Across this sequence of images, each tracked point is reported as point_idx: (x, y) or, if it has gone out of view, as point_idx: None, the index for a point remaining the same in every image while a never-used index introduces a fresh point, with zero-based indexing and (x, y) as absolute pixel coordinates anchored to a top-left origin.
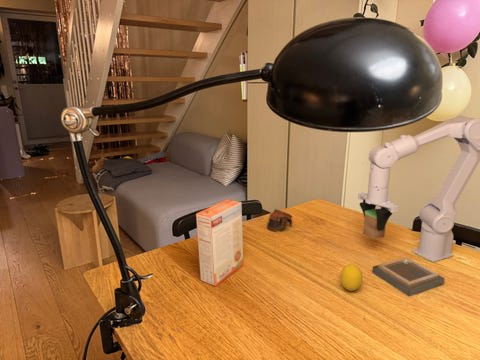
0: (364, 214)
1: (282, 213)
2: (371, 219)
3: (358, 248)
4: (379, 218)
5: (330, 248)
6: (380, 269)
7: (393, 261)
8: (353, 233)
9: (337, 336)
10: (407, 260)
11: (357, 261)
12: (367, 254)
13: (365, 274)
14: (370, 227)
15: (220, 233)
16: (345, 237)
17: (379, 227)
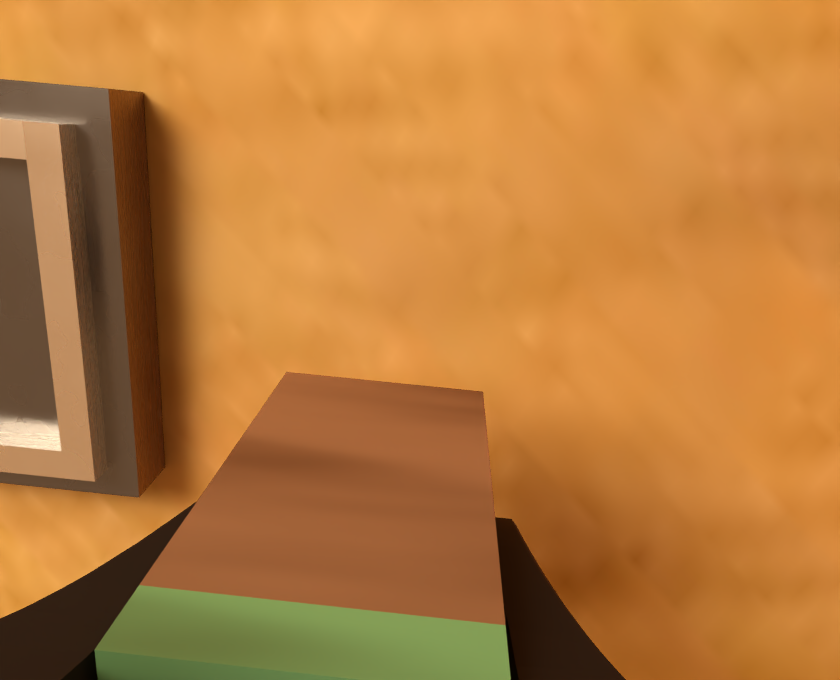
0: (552, 631)
1: None
2: (281, 549)
3: (556, 357)
4: (35, 623)
5: (740, 99)
6: (34, 113)
7: (67, 321)
8: (802, 555)
9: None
10: (51, 447)
11: (370, 140)
12: (424, 335)
13: (142, 4)
14: (331, 453)
15: None
16: (800, 431)
17: (181, 520)
